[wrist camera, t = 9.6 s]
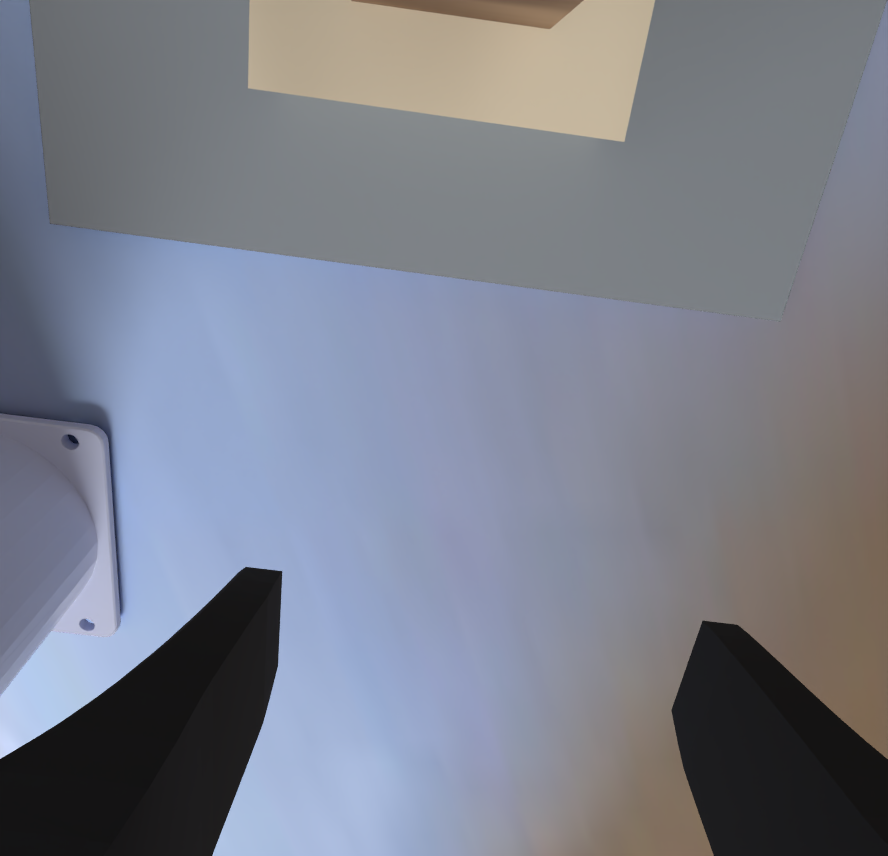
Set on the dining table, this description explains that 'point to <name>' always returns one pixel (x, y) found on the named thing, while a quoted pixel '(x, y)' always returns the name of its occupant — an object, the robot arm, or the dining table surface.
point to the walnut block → (492, 9)
